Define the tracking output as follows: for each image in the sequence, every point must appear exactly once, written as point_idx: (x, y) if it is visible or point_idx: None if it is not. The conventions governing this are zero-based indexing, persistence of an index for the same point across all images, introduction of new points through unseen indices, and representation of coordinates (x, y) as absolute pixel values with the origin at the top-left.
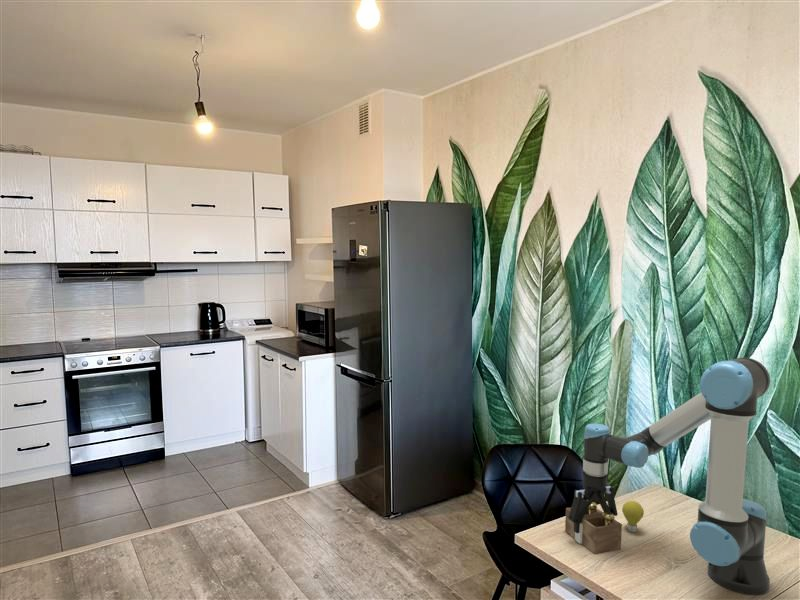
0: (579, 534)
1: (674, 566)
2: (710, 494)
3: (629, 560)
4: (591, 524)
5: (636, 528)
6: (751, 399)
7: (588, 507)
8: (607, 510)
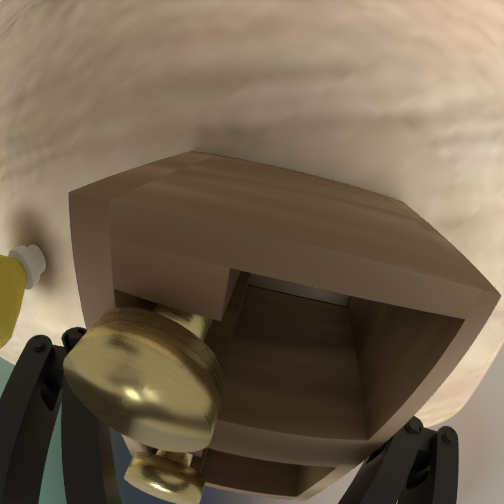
0: None
1: None
2: None
3: (263, 31)
4: (432, 376)
5: (19, 246)
6: None
7: (201, 486)
8: (87, 420)
